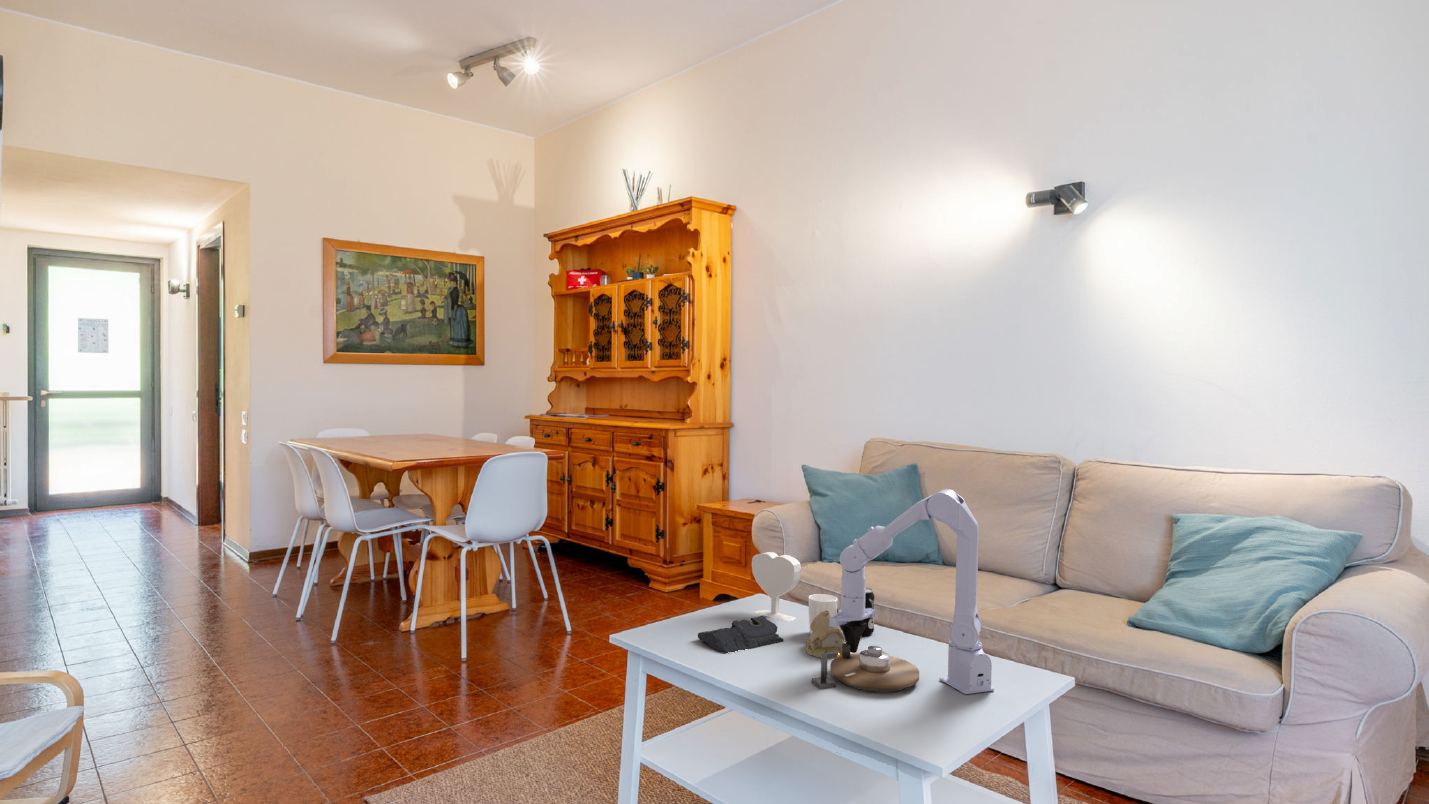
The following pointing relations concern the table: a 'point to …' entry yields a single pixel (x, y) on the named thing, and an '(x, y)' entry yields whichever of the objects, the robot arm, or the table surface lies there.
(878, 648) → the cover
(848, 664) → the turntable
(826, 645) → the ceramic model
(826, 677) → the grey bent lever
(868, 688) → the turntable base
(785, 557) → the heart sculpture
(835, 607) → the white cup
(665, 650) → the table surface
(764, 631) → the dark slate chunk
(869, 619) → the beverage can
